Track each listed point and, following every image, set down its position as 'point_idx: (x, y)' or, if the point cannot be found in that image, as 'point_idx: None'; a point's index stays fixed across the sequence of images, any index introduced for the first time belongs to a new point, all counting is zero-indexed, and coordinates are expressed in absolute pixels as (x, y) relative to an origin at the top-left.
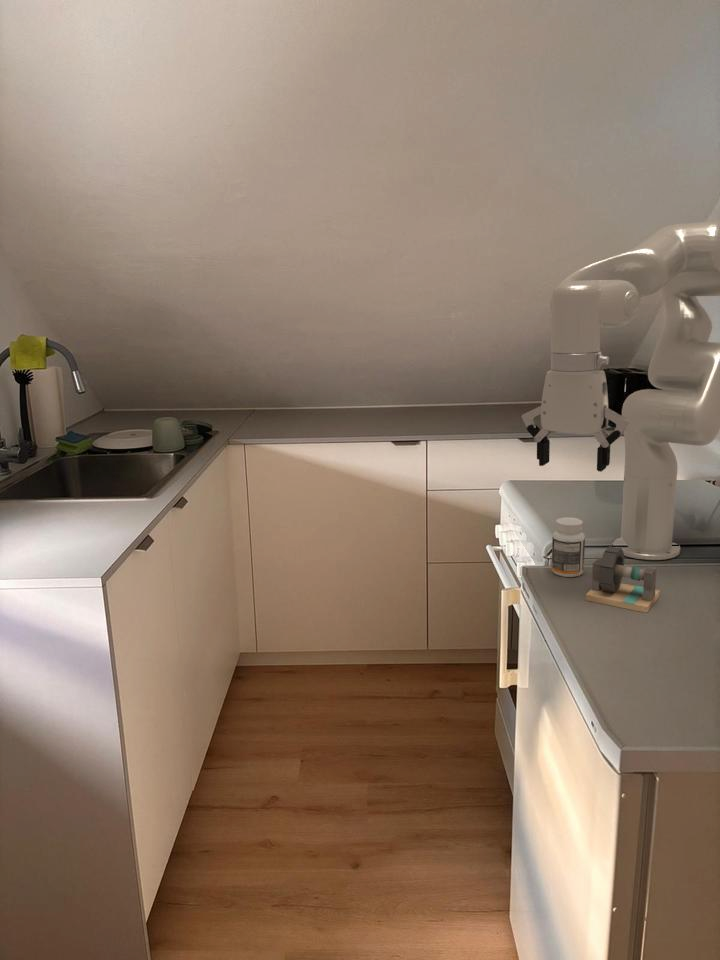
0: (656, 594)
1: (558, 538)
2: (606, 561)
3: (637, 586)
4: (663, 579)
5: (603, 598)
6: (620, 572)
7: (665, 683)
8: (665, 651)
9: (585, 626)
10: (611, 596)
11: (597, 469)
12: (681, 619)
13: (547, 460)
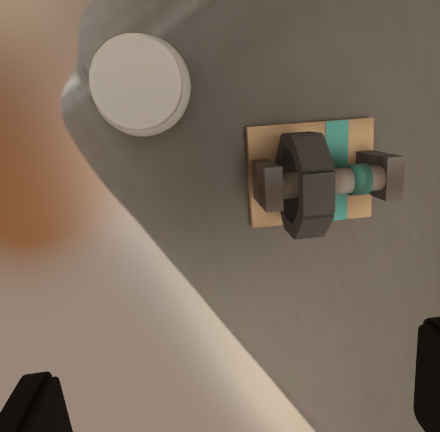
0: (372, 145)
1: (129, 134)
2: (309, 231)
3: (329, 126)
4: (354, 8)
5: None
6: None
7: None
8: None
9: (290, 323)
10: None
11: (421, 420)
12: (422, 205)
13: (60, 418)
